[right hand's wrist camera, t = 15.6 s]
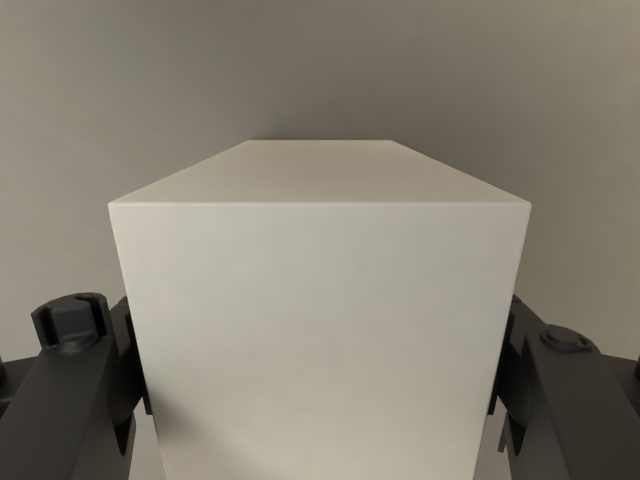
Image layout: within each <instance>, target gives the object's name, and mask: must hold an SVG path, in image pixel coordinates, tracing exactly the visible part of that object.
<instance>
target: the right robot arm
mask: <svg viewBox="0 0 640 480" xmlns="http://www.w3.org/2000/svg"><path fill="white" fill-rule="evenodd" d="M31 317H32V320H33V323H34V326H35V329H36V332H37V335H38V338H39V341H40V344H41V347H42V350H41V352H40V353H39V355H38V356H36V357H31V358H25V359H20V360H15V361H9V362H4V363H3V362H2V359H1V357H0V480H128V478H129V472H130V465H131V459H132V452H133V445H134V439H135V432H136V421H135V416H134V412H133V410H134V409H135V407H136V406H137V404H138V402H139V401H140V399H141V397H143V401H144V406H145V410H146V414H147V415H152V410H151V405H150V401H149V396H148V391H147V387H146V382H145V377H144V373H143V368H142V363H141V359H140V354H139V350H138V345H137V340H136V336H135V331H134V326H133V322H132V317H131V312H130V308H129V303H128V298H127V295H126V297H123V298H122V299H121V300H120V301H119V302H118V304H116V305H115V306H114V307H113V308H112V309H111V310H110V311H109V308H108V304H107V300H106V297H105V296H103V295H102V294H98V293H91V292H90V293H77V294H72V295H68V296H63V297H61V298H58V299H55V300H52V301H49V302H48V303H46V304H44V305H42V306H40V307H38V308H37V309H36V310H35V311H34V312H33V313H31ZM497 395H498V396H499V398H500V399H501V401H502V402H503V404H504V406H505V407H506V409H507V412H506V416H505V420H504V425H503V429H502V433H501V437H500V441H499V447H498V452H502V453H503V451H504V447H505V445H507V451H508V458H509V464H510V471H511V477H512V480H640V356H639V358H638V361H635V360H629V359H624V358H619V357H613V356H608V355H603V354H601V353H600V351H599V349H598V348H597V347H596V346H595V345H594V343H593V342H592V341H591V340H589V339H587V338H586V337H584V336H583V335H581V334H579V333H577V332H575V331H572V330H570V329H567V328H564V327H560V326H556V325H549V324H545V323H544V322H543V321H542V320H541V319H540V318H539V317H538V316H537V315H536V314H535V313H534V312H533V311H532V310H530V309H529V308H528V307H527V306H526V305H525V304H524V303H522V301H521V300H520V299H519V298H518V297H517V296H516V295H514V293H513V297H512V301H511V306H510V311H509V315H508V320H507V325H506V329H505V334H504V339H503V343H502V348H501V353H500V357H499V362H498V366H497V371H496V376H495V380H494V385H493V390H492V394H491V399H490V404H489V408H488V413H487V415H493V413H494V409H495V404H496V400H497Z"/></svg>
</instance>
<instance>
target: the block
mask: <svg viewBox="0 0 640 480" xmlns="http://www.w3.org/2000/svg"><path fill="white" fill-rule="evenodd" d="M531 208H532V204H531V203H530V202H528V201H526V200H523V199H521V198H519V197H517V196H515V195H512V194H510V193H508V192H506V191H503V190H501V189H499V188H497V187H494V186H492V185H490V184H488V183H486V182H483V181H481V180H479V179H477V178H474V177H472V176H470V175H468V174H465V173H463V172H461V171H459V170H457V169H454V168H452V167H450V166H448V165H445V164H443V163H441V162H439V161H436V160H434V159H432V158H430V157H428V156H425V155H423V154H421V153H419V152H416V151H414V150H412V149H410V148H407V147H405V146H403V145H401V144H399V143H396V142H394V141H392V140H248V141H246V142H243V143H241V144H239V145H237V146H234V147H232V148H230V149H228V150H226V151H223V152H221V153H219V154H217V155H214V156H212V157H210V158H208V159H205V160H203V161H201V162H199V163H197V164H194V165H192V166H190V167H188V168H185V169H183V170H181V171H179V172H176V173H174V174H172V175H170V176H167V177H165V178H163V179H161V180H159V181H156V182H154V183H152V184H150V185H147V186H145V187H143V188H141V189H138V190H136V191H134V192H132V193H130V194H127V195H125V196H123V197H121V198H118V199H116V200H114V201H112V202H109V203H108V210H109V215H110V219H111V224H112V229H113V233H114V238H115V243H116V247H117V252H118V257H119V261H120V266H121V271H122V275H123V280H124V284H125V289H126V294H127V298H128V303H129V308H130V312H131V317H132V322H133V326H134V331H135V336H136V340H137V345H138V350H139V354H140V359H141V363H142V368H143V373H144V377H145V382H146V387H147V391H148V396H149V401H150V405H151V410H152V415H153V419H154V424H155V429H156V433H157V438H158V442H159V447H160V452H161V456H162V461H163V466H164V470H165V475H166V480H473V478H474V473H475V469H476V464H477V460H478V455H479V450H480V446H481V441H482V436H483V432H484V427H485V422H486V418H487V413H488V408H489V404H490V399H491V394H492V390H493V385H494V380H495V376H496V371H497V366H498V362H499V357H500V353H501V348H502V343H503V339H504V334H505V329H506V325H507V320H508V315H509V311H510V306H511V301H512V297H513V292H514V287H515V283H516V278H517V273H518V269H519V264H520V259H521V255H522V250H523V246H524V241H525V236H526V232H527V227H528V222H529V218H530V213H531Z"/></svg>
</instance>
